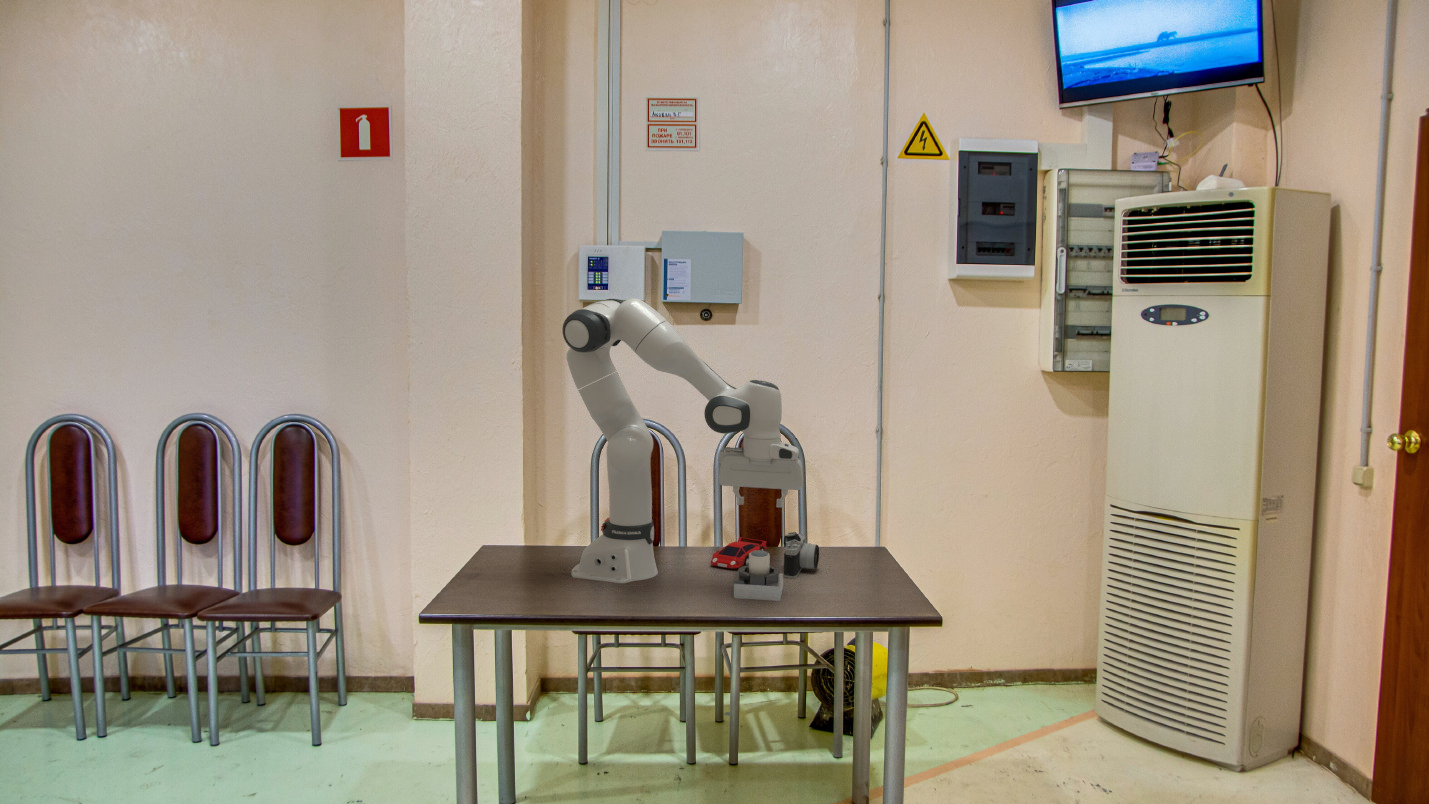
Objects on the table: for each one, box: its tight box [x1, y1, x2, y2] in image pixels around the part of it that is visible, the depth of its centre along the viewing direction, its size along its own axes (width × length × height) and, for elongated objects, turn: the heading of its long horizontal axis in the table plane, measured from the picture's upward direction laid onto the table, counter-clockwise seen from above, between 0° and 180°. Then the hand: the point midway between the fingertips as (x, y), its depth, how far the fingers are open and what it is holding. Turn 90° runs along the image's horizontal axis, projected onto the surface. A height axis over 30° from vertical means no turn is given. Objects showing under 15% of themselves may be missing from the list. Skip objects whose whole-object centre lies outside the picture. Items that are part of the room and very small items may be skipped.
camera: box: [783, 531, 820, 579], centre depth 209 cm, size 16×9×10 cm, turn 163°
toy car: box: [710, 536, 768, 569], centre depth 218 cm, size 10×20×5 cm, turn 156°
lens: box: [749, 550, 771, 575], centre depth 189 cm, size 5×5×6 cm
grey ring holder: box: [733, 565, 784, 602], centre depth 190 cm, size 11×10×6 cm
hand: (759, 505), depth 188 cm, fingers open, 8 cm apart
